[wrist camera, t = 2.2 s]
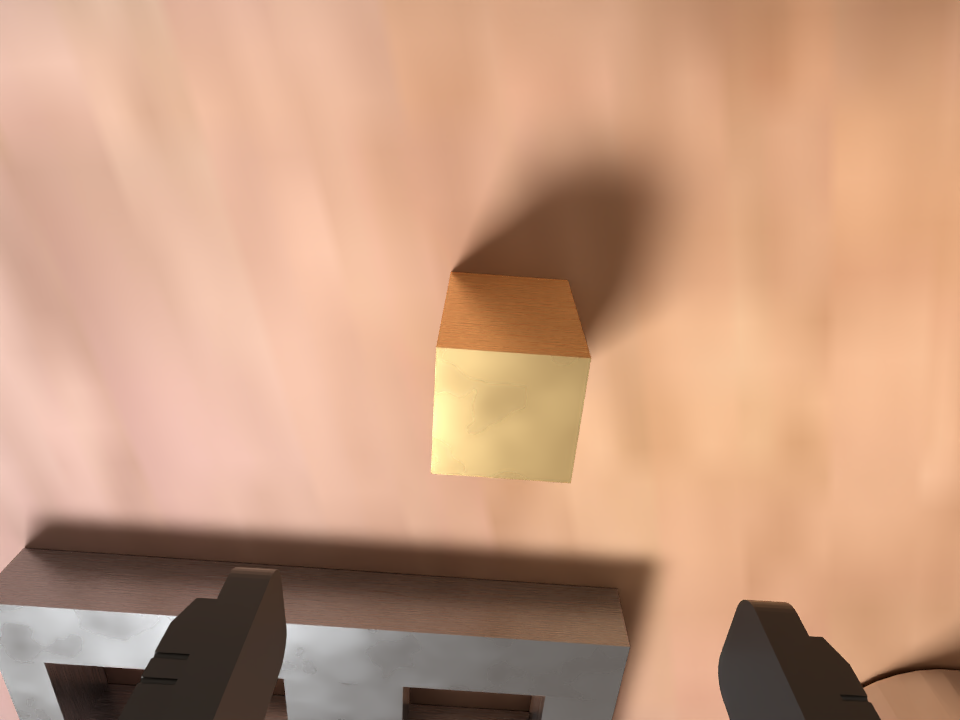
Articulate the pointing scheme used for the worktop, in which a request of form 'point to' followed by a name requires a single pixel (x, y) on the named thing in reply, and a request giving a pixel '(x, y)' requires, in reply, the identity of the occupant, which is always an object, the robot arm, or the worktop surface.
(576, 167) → the worktop surface
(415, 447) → the worktop surface
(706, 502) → the worktop surface
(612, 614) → the silver slotted board
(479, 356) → the block
